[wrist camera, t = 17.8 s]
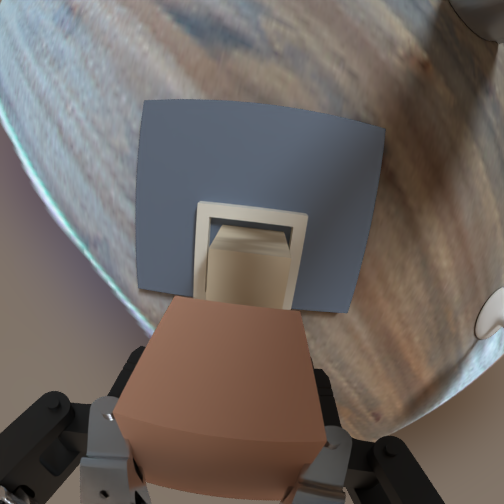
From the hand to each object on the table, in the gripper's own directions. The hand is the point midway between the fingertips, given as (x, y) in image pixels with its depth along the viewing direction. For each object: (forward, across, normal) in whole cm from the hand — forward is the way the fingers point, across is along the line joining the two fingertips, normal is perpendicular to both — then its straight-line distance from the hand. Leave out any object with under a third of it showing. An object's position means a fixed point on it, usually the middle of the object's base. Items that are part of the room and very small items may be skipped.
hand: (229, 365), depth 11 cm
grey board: (+15, 0, -4) cm, 15 cm away
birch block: (+13, 0, 0) cm, 13 cm away
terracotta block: (+1, 0, 0) cm, 1 cm away
